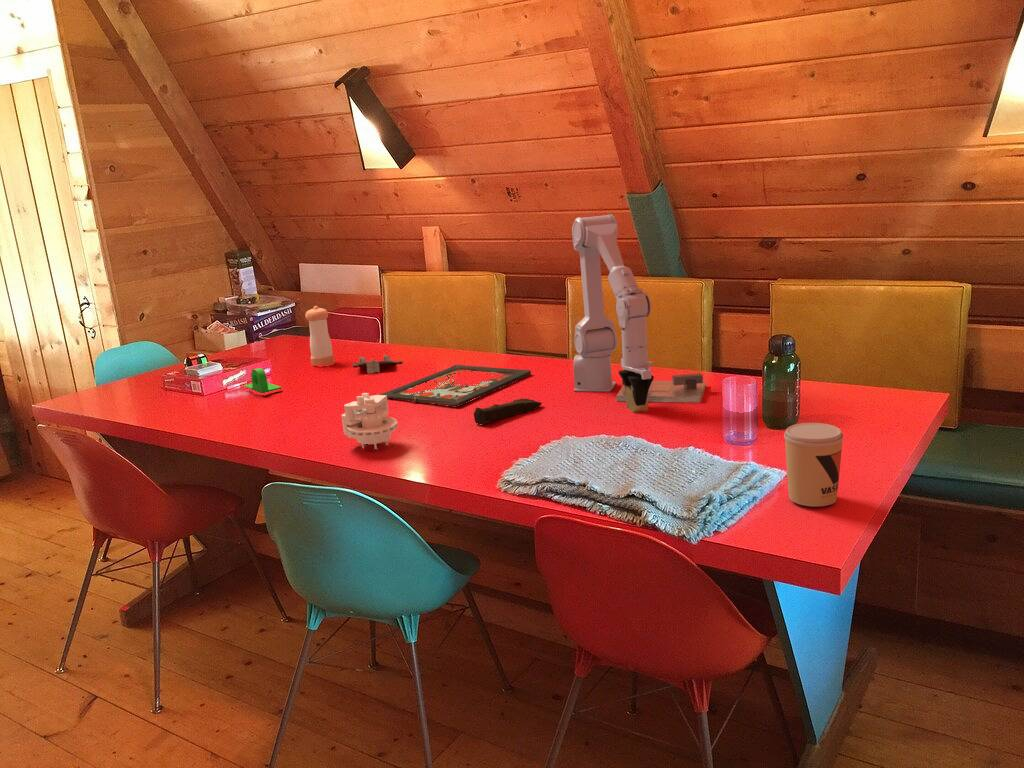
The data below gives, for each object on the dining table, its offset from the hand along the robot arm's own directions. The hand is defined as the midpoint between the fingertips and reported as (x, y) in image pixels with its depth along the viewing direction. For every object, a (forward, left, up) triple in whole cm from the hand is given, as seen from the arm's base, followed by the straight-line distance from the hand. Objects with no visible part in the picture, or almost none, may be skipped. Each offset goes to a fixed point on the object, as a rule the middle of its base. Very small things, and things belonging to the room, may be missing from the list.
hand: (636, 402), depth 207 cm
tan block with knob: (0, 0, -2) cm, 2 cm away
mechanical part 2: (-53, -31, -2) cm, 62 cm away
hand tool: (-27, -14, 0) cm, 31 cm away
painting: (-52, +18, -2) cm, 55 cm away
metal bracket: (-78, +39, -1) cm, 87 cm away
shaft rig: (+4, +13, -2) cm, 14 cm away
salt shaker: (-105, +41, -2) cm, 113 cm away
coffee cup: (+38, -50, -2) cm, 63 cm away
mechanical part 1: (-108, +12, -2) cm, 109 cm away
